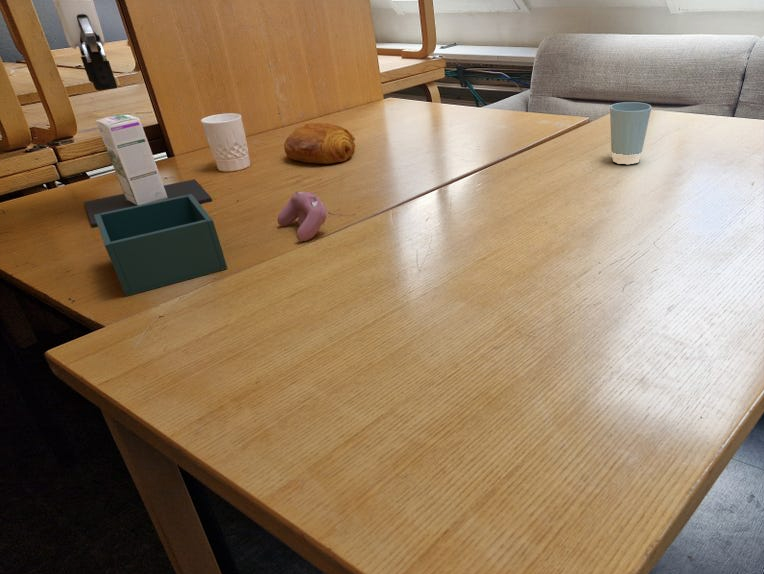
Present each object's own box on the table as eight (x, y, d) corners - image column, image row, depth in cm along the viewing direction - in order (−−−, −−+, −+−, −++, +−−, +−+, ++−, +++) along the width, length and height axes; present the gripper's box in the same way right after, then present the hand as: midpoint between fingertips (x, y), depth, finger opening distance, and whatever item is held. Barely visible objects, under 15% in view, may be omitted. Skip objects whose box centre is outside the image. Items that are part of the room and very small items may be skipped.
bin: (126, 296, 83) (104, 245, 79) (113, 262, 93) (93, 214, 88) (227, 269, 89) (212, 219, 85) (206, 239, 99) (191, 193, 94)
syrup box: (169, 198, 114) (141, 116, 106) (137, 207, 110) (106, 123, 102) (156, 192, 117) (128, 112, 109) (124, 201, 114) (93, 119, 106)
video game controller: (323, 247, 98) (335, 204, 96) (296, 242, 95) (308, 197, 93) (300, 228, 104) (310, 188, 102) (274, 223, 101) (284, 181, 99)
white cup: (261, 164, 132) (249, 115, 126) (231, 174, 126) (217, 124, 121) (236, 159, 135) (224, 112, 130) (207, 169, 130) (192, 120, 124)
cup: (604, 166, 120) (609, 110, 114) (606, 155, 126) (610, 101, 121) (644, 168, 119) (651, 111, 113) (644, 156, 125) (650, 102, 119)
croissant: (328, 180, 127) (324, 142, 122) (273, 160, 133) (267, 123, 128) (372, 159, 137) (371, 123, 132) (320, 141, 143) (316, 106, 138)
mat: (92, 227, 105) (91, 224, 105) (84, 204, 115) (83, 201, 115) (212, 201, 114) (211, 197, 113) (195, 182, 123) (194, 179, 123)
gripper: (31, -36, 97) (74, 81, 107) (34, -37, 85) (82, 95, 95) (84, -38, 101) (121, 76, 110) (94, -39, 88) (135, 89, 98)
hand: (103, 85), depth 102 cm, fingers open, 9 cm apart
